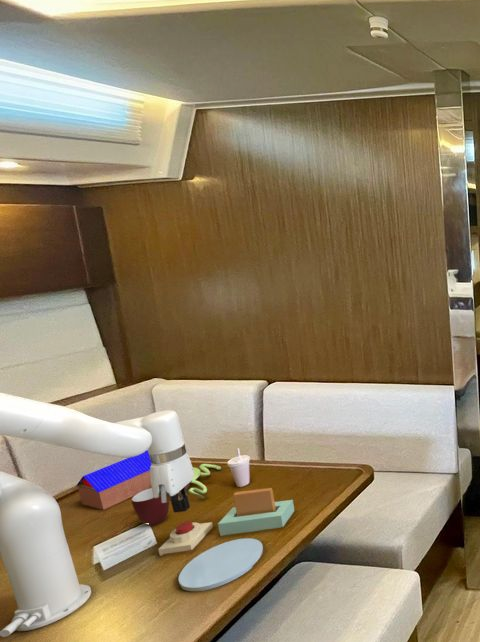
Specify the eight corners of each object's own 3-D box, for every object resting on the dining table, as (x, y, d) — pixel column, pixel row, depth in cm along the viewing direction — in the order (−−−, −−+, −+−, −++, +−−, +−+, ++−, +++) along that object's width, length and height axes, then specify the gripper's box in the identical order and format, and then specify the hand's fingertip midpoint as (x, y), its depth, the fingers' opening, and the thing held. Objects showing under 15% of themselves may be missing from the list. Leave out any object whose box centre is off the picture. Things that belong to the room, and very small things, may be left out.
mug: (123, 529, 139) (116, 500, 137) (151, 512, 147) (145, 485, 145) (154, 531, 138) (147, 502, 136) (180, 514, 146) (174, 486, 144)
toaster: (283, 528, 139) (281, 515, 138) (220, 537, 136) (217, 523, 135) (294, 511, 147) (292, 499, 146) (235, 519, 143) (232, 507, 142)
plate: (242, 584, 118) (241, 580, 118) (161, 597, 114) (160, 593, 114) (275, 537, 135) (274, 533, 135) (206, 547, 131) (205, 543, 131)
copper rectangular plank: (275, 521, 141) (269, 490, 139) (239, 526, 139) (233, 495, 137) (277, 518, 143) (272, 487, 141) (241, 523, 141) (235, 492, 139)
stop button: (188, 534, 132) (187, 528, 131) (173, 536, 131) (172, 530, 131) (196, 525, 135) (195, 520, 135) (182, 527, 134) (181, 522, 134)
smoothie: (244, 489, 159) (238, 453, 157) (227, 489, 159) (219, 453, 157) (258, 478, 166) (252, 443, 163) (241, 478, 166) (234, 444, 163)
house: (80, 504, 152) (71, 473, 150) (152, 472, 171) (145, 444, 168) (102, 510, 149) (94, 478, 146) (174, 477, 167) (167, 448, 165)
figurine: (128, 520, 143) (124, 505, 142) (162, 478, 167) (159, 464, 166) (202, 504, 151) (199, 489, 150) (224, 465, 175) (222, 452, 174)
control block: (192, 551, 130) (189, 539, 129) (159, 555, 128) (156, 543, 127) (213, 528, 139) (210, 516, 139) (183, 532, 138) (180, 520, 137)
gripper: (171, 442, 135) (184, 496, 138) (132, 470, 120) (148, 529, 124) (200, 439, 136) (212, 493, 140) (164, 466, 122) (179, 525, 126)
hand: (182, 510), depth 132 cm, fingers closed
